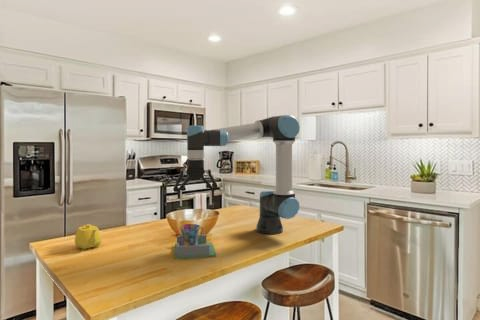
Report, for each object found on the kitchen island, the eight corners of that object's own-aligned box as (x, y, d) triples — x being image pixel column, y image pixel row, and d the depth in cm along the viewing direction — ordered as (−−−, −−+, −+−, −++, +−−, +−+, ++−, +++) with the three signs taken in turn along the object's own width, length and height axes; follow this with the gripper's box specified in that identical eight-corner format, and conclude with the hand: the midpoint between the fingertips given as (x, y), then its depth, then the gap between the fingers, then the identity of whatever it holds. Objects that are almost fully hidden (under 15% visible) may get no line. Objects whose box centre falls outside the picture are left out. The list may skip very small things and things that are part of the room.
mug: (187, 254, 142) (187, 230, 142) (175, 248, 149) (175, 226, 148) (208, 248, 150) (208, 225, 150) (197, 243, 157) (197, 221, 157)
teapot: (107, 249, 150) (107, 226, 149) (82, 255, 143) (81, 231, 142) (94, 240, 163) (94, 219, 163) (70, 245, 156) (70, 223, 155)
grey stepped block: (212, 243, 160) (212, 233, 160) (216, 256, 142) (216, 245, 142) (174, 245, 157) (174, 235, 156) (174, 258, 139) (174, 247, 139)
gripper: (221, 158, 154) (221, 202, 156) (168, 159, 149) (168, 204, 151) (223, 159, 147) (223, 205, 148) (167, 160, 142) (168, 207, 143)
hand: (196, 205), depth 150 cm, fingers open, 13 cm apart
